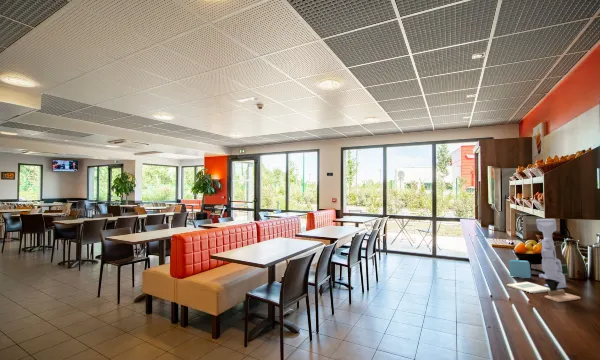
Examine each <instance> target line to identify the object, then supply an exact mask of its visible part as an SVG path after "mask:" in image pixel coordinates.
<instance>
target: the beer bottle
mask: <svg viewBox="0 0 600 360" xmlns="http://www.w3.org/2000/svg"><path fill="white" fill-rule="evenodd" d="M554 249H555V252H556V258H557V259H559V260H560V261H561V265H562V273H563V274H564V276H565V281H566V282H570V274H569V268H568V261H567V259H566V258H565V257H564V255H563V250H562V244H557V243H556V244H554ZM556 263H557V262H556Z"/></svg>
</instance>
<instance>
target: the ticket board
mask: <svg viewBox="0 0 600 360" xmlns="http://www.w3.org/2000/svg"><path fill="white" fill-rule="evenodd" d="M506 287H509V288H512V289H515V290H518V291H521V290H523V291H522V292H524V291H526V292H525V293H527V292H529V293H528V294H530V293H533V294H538V293H546V292H547V293H548V291H550V288H549V287H547V286H544V285H539V284H538V283H533V282H529V281H523V282H521V281H520V282H515V283H514V282H513V283H508V284H506Z"/></svg>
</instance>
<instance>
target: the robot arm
mask: <svg viewBox="0 0 600 360" xmlns="http://www.w3.org/2000/svg"><path fill="white" fill-rule="evenodd" d="M535 222H536V228H537V230H538V231H539V232H542V235H543V236H542V237H543V239H541V251H540V253H541V257H542V259H541V266H542V267H541V269H542V272H544V274H543V273H539V274H538V277H539V278H540V279H541V278H543V279H544V282H545V283H546V284H543V286H544V287H547V288H550V291H553V290H558V289H563V288H564V289H565V288H568V285H567V281H565V276H564V274H563V273H562V265H561V261H560V260H559V259H557V258H556V250H555V242H554V240H553V233H555V232H557V221H556V219H555V218H537V219H536V221H535ZM556 262H557V263H556Z"/></svg>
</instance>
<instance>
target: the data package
mask: <svg viewBox="0 0 600 360" xmlns="http://www.w3.org/2000/svg"><path fill="white" fill-rule="evenodd" d="M508 268H509V276H510V277H511V276H515V277H524V278H529V279H530V278H532V277H531V276H532V274H531V273H532V271H531V265H530V262H529V261H528V260H520V259H510V260H509V261H508ZM524 278H523V279H524Z"/></svg>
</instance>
